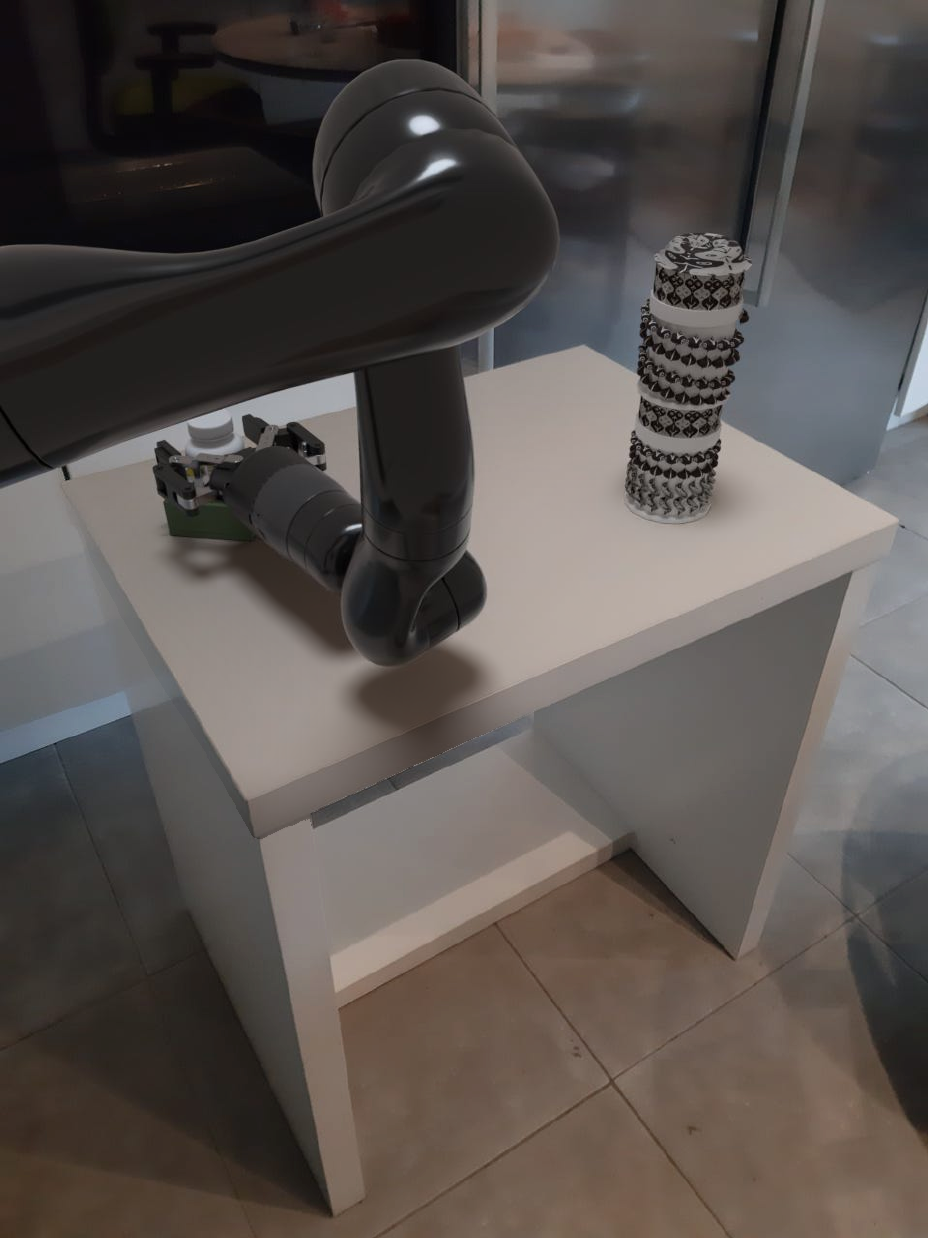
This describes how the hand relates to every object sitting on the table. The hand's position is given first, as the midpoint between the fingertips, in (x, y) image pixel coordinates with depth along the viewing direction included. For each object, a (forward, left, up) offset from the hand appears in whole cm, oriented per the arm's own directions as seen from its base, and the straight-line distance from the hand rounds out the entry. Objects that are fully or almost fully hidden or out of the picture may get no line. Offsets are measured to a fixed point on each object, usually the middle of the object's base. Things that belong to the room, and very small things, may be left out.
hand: (204, 436), depth 90 cm
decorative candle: (+20, -39, -8) cm, 45 cm away
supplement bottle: (-1, -1, -8) cm, 8 cm away
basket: (-1, -1, -8) cm, 8 cm away
